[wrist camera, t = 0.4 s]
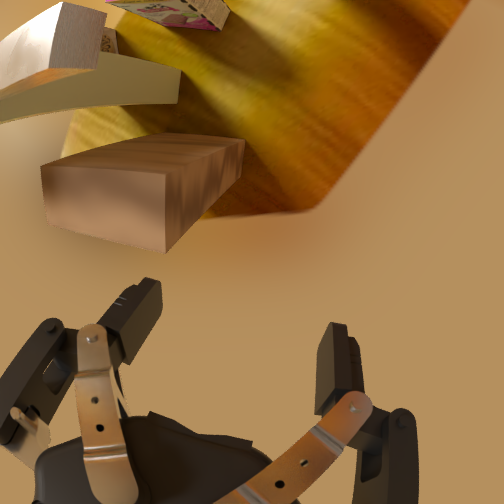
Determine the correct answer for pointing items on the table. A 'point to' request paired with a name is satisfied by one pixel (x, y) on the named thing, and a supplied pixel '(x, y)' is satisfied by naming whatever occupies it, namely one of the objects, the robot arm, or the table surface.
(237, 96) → the table surface
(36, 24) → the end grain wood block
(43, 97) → the beige tall block
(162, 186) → the wood grain post
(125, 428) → the robot arm
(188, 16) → the candy bar box
